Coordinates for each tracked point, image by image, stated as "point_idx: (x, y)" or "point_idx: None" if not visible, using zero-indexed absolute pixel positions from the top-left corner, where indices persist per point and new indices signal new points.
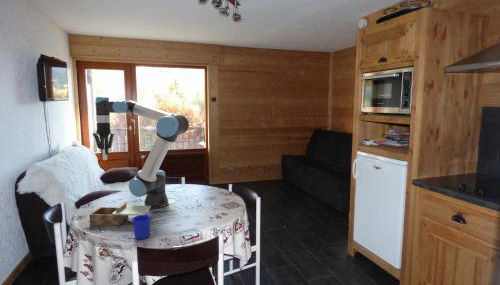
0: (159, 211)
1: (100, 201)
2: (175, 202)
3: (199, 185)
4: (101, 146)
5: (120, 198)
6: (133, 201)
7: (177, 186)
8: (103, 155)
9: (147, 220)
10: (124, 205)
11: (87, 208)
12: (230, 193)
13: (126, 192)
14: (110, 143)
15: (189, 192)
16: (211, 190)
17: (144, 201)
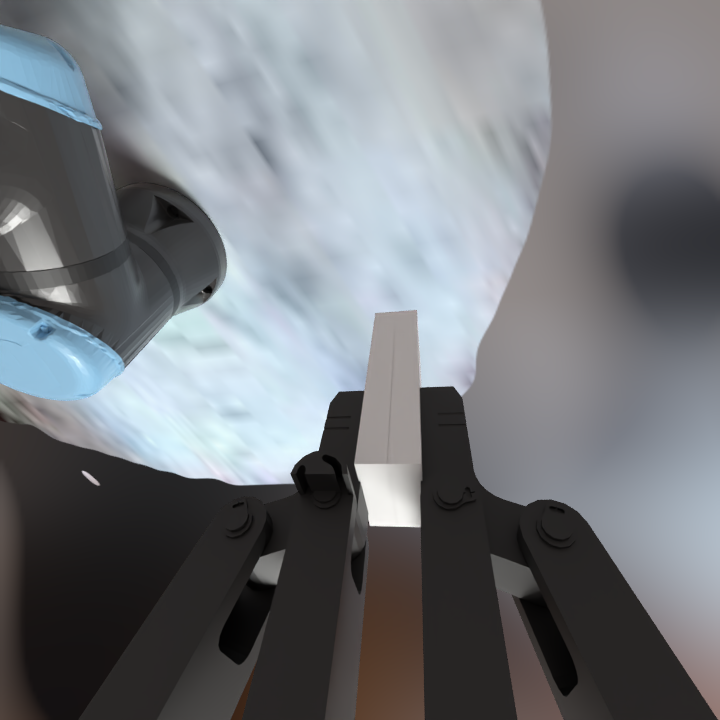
0: None
1: (491, 246)
2: None
3: (186, 473)
4: (457, 568)
5: (403, 306)
6: (309, 274)
7: (255, 461)
8: (402, 363)
9: None
10: None
11: (517, 99)
12: (15, 410)
13: (421, 386)
14: (108, 683)
15: (160, 408)
16: (103, 432)
17: (202, 231)
